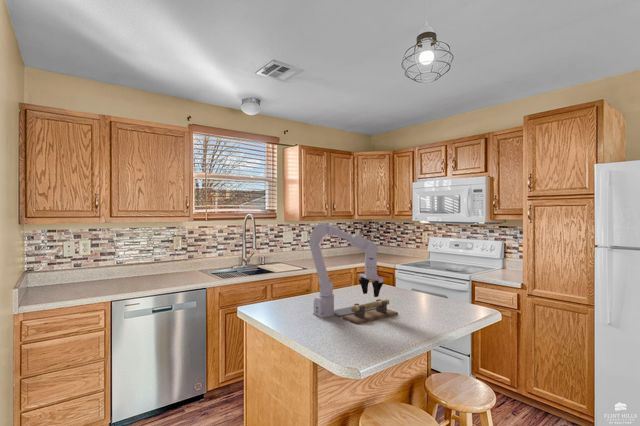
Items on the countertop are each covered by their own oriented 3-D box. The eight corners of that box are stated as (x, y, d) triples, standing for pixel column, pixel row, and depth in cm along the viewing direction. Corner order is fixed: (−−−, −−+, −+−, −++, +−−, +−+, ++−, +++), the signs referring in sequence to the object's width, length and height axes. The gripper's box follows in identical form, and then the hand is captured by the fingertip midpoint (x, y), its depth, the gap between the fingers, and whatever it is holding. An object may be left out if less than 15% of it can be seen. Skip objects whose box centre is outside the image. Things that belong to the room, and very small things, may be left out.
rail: (354, 312, 153) (354, 306, 153) (351, 311, 155) (351, 305, 155) (389, 305, 166) (389, 299, 166) (385, 303, 168) (385, 298, 168)
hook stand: (356, 324, 149) (356, 309, 149) (342, 318, 157) (342, 304, 157) (397, 314, 164) (397, 301, 164) (383, 309, 172) (383, 296, 172)
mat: (339, 317, 159) (339, 315, 159) (328, 312, 167) (328, 311, 167) (379, 308, 174) (379, 307, 174) (367, 304, 182) (367, 303, 182)
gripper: (387, 268, 159) (387, 297, 159) (366, 264, 171) (366, 291, 171) (376, 269, 155) (376, 299, 155) (355, 265, 167) (355, 293, 167)
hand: (370, 295), depth 163 cm, fingers open, 7 cm apart
